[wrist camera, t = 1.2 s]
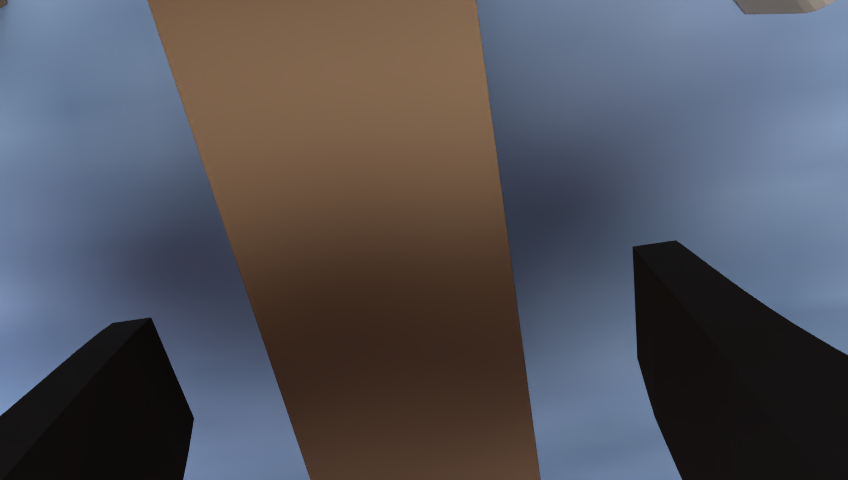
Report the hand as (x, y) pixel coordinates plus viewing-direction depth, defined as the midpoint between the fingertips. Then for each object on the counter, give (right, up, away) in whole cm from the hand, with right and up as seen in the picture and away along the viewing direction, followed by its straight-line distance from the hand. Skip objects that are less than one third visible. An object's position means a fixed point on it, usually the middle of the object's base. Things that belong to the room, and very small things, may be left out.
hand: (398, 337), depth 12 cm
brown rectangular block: (0, +4, +3) cm, 5 cm away
